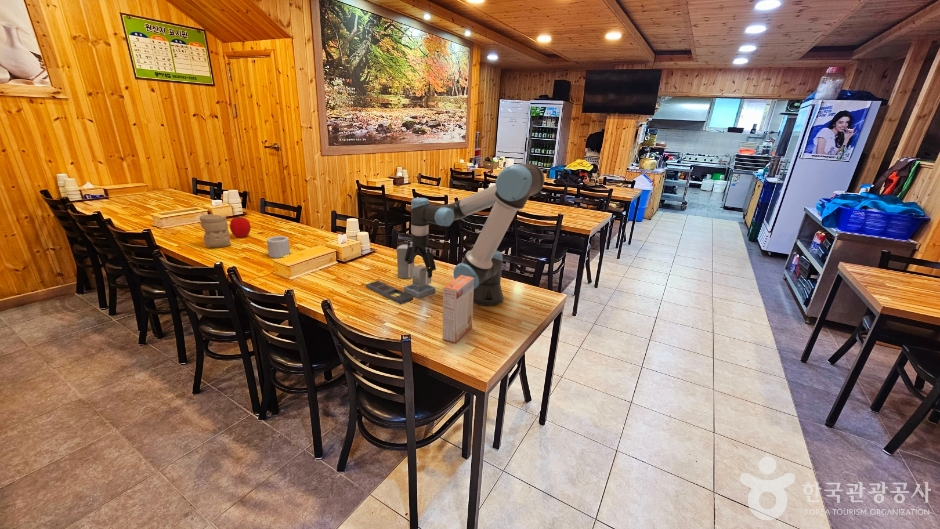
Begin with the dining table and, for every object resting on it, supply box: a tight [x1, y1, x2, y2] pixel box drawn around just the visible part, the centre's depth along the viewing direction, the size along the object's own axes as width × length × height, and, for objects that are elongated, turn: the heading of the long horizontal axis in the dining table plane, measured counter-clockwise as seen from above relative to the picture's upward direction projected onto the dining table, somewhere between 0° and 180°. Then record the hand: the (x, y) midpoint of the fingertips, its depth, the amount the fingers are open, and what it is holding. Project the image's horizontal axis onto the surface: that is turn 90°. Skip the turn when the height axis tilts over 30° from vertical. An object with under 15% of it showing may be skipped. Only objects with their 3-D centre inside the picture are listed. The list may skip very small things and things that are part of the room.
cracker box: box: [442, 275, 474, 344], centre depth 135 cm, size 14×6×21 cm, turn 154°
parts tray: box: [403, 283, 436, 300], centre depth 171 cm, size 10×10×2 cm
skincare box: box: [396, 244, 415, 280], centre depth 187 cm, size 8×7×16 cm
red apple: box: [229, 216, 251, 238], centre depth 235 cm, size 12×12×13 cm
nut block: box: [412, 264, 427, 293], centre depth 169 cm, size 5×5×12 cm
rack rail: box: [365, 280, 414, 305], centre depth 168 cm, size 25×7×2 cm, turn 50°
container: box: [199, 213, 232, 248], centre depth 215 cm, size 13×13×18 cm
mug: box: [266, 235, 291, 259], centre depth 207 cm, size 14×11×10 cm
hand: (419, 280), depth 169 cm, fingers open, 11 cm apart
